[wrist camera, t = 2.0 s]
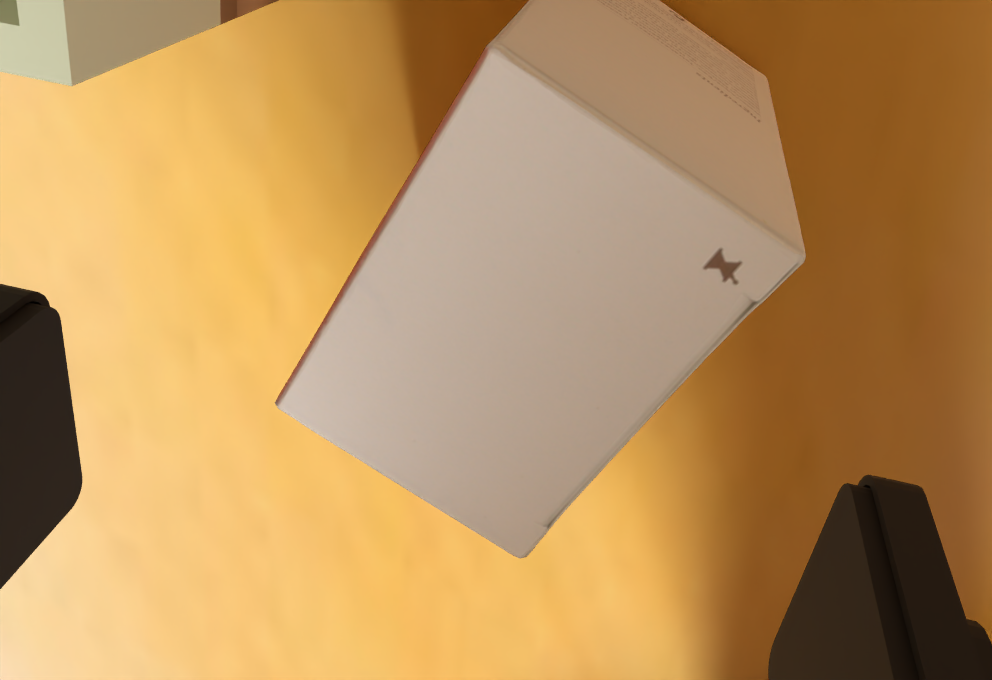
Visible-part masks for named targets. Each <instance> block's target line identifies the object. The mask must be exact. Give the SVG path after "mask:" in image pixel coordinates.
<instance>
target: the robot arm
mask: <svg viewBox="0 0 992 680" xmlns="http://www.w3.org/2000/svg"><path fill="white" fill-rule="evenodd" d="M81 487H82V472H81V464H80V457H79V450H78V442H77V435H76V428H75V421H74V413H73V406H72V399H71V391H70V384H69V377H68V370H67V362H66V355H65V348H64V341H63V333H62V326H61V320H60V316H59V313H58V312H57V311H56V310H55V309H54V308H52V307H50V305H49V302H48V300H47V299H46V297H45V296H44V295H42V294H41V293H39V292H35V291H30V290H26V289H21V288H17V287H12V286H8V285H3V284H0V589H1V588H2V587H3V586H4V584H5V583H6V582H7V581H8V580H9V579H10V578H11V577H12V575H13V574H14V573H15V572H16V571H17V570H18V569H19V567H20V566H21V565H22V564H23V563H24V562H25V561H26V560H27V558H28V557H29V556H30V555H31V554H32V553H33V552H34V551H35V549H36V548H37V547H38V546H39V545H40V544H41V543H42V541H43V540H44V539H45V538H46V537H47V536H48V535H49V534H50V532H51V531H52V530H53V529H54V528H55V527H56V526H57V524H58V523H59V522H60V521H61V520H62V519H63V518H64V517H65V515H66V514H67V513H68V512H69V511H70V510H71V509H72V507H73V506H74V504H75V503H76V501H77V499H78V497H79V494H80V491H81ZM768 678H769V680H992V644H991V642H990V639H989V637H988V635H987V633H986V631H985V629H984V628H983V627H982V626H981V625H980V624H978V623H977V622H976V621H972V620H968V619H966V617H965V614H964V611H963V608H962V605H961V602H960V599H959V596H958V593H957V589H956V586H955V583H954V580H953V577H952V574H951V571H950V568H949V565H948V562H947V559H946V556H945V553H944V550H943V547H942V544H941V541H940V538H939V535H938V532H937V528H936V525H935V522H934V519H933V516H932V513H931V510H930V507H929V504H928V501H927V498H926V495H925V493H924V491H923V489H922V488H921V487H919V486H918V485H913V484H909V483H904V482H900V481H895V480H891V479H886V478H881V477H877V476H872V475H866V476H864V477H863V478H862V479H861V480H860V482H859V484H858V486H857V485H853V484H848V483H846V484H844V485H843V486H842V487H841V489H840V491H839V492H838V495H837V497H836V499H835V502H834V504H833V506H832V508H831V511H830V513H829V515H828V518H827V520H826V522H825V525H824V527H823V529H822V532H821V534H820V536H819V538H818V541H817V543H816V545H815V548H814V550H813V552H812V555H811V557H810V559H809V562H808V564H807V566H806V568H805V571H804V573H803V575H802V578H801V580H800V582H799V585H798V587H797V589H796V592H795V594H794V596H793V599H792V601H791V603H790V605H789V608H788V610H787V612H786V615H785V617H784V619H783V622H782V624H781V626H780V629H779V631H778V633H777V635H776V638H775V640H774V643H773V645H772V649H771V653H770V659H769V668H768Z"/></svg>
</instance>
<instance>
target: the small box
mask: <svg viewBox="0 0 992 680" xmlns="http://www.w3.org/2000/svg"><path fill="white" fill-rule="evenodd" d="M805 258H806V254H805V247H804V243H803V239H802V235H801V229H800V224H799V220H798V215H797V210H796V206H795V201H794V197H793V193H792V188H791V183H790V179H789V176H788V170H787V167H786V162H785V157H784V153H783V149H782V143H781V140H780V135H779V130H778V125H777V121H776V116H775V111H774V108H773V103H772V98H771V94H770V88H769V83H768V79H767V77H766V76H765V75H763V74H762V73H760V72H759V71H757V70H756V69H754V68H753V67H751V66H750V65H748V64H747V63H746V62H744V61H743V60H742V59H740V58H739V57H737V56H736V55H735V54H733V53H732V52H731V51H729V50H728V49H726V48H725V47H724V46H722V45H721V44H719V43H718V42H717V41H715V40H714V39H712V38H711V37H710V36H708V35H707V34H705V33H704V32H703V31H701V30H700V29H698V28H697V27H696V26H694V25H693V24H691V23H690V22H689V21H687V20H686V19H685V18H683V17H682V16H680V15H679V14H678V13H676V12H675V11H674V10H672V9H671V8H669V7H668V6H667V5H665V4H664V3H662V2H661V1H660V0H529V1H528V2H527V3H526V4H525V5H524V6H523V7H522V9H521V10H520V11H519V12H518V13H517V14H516V15H515V16H514V18H513V19H512V20H511V21H510V22H509V23H508V24H507V25H506V26H505V27H504V28H503V29H502V30H501V31H500V33H499V34H498V35H497V36H496V37H495V38H494V39H493V40H492V41H491V42H490V43H489V44H488V45H487V46H486V47H485V49H484V51H483V53H482V54H481V56H480V58H479V59H478V61H477V63H476V64H475V66H474V68H473V69H472V71H471V73H470V75H469V76H468V78H467V80H466V81H465V83H464V85H463V86H462V88H461V90H460V91H459V93H458V95H457V96H456V98H455V100H454V101H453V103H452V105H451V106H450V108H449V110H448V111H447V113H446V115H445V116H444V118H443V120H442V121H441V123H440V125H439V126H438V128H437V130H436V131H435V133H434V135H433V137H432V138H431V140H430V142H429V143H428V145H427V147H426V148H425V150H424V152H423V153H422V155H421V157H420V158H419V160H418V162H417V163H416V165H415V167H414V168H413V170H412V172H411V173H410V175H409V177H408V178H407V180H406V182H405V183H404V185H403V186H402V188H401V190H400V191H399V193H398V195H397V196H396V198H395V200H394V201H393V203H392V205H391V206H390V208H389V209H388V211H387V213H386V214H385V216H384V218H383V219H382V221H381V223H380V224H379V226H378V228H377V229H376V231H375V233H374V234H373V236H372V238H371V239H370V241H369V243H368V244H367V246H366V248H365V249H364V251H363V253H362V255H361V256H360V258H359V260H358V261H357V263H356V265H355V266H354V268H353V270H352V272H351V273H350V275H349V277H348V279H347V280H346V282H345V284H344V286H343V287H342V289H341V291H340V292H339V294H338V296H337V298H336V299H335V301H334V303H333V305H332V306H331V308H330V310H329V311H328V313H327V315H326V317H325V318H324V320H323V322H322V323H321V325H320V327H319V328H318V330H317V332H316V334H315V335H314V337H313V339H312V340H311V342H310V344H309V345H308V347H307V349H306V351H305V352H304V354H303V356H302V357H301V359H300V361H299V363H298V364H297V366H296V368H295V369H294V371H293V373H292V374H291V376H290V378H289V379H288V381H287V383H286V384H285V386H284V388H283V389H282V391H281V393H280V394H279V396H278V398H277V400H276V402H275V404H276V405H277V407H278V409H280V410H281V411H283V412H285V413H286V414H288V415H289V416H291V417H293V418H294V419H296V420H297V421H299V422H300V423H302V424H303V425H305V426H306V427H308V428H309V429H311V430H312V431H314V432H315V433H317V434H318V435H320V436H322V437H323V438H325V439H326V440H328V441H330V442H331V443H333V444H334V445H336V446H338V447H339V448H341V449H342V450H344V451H346V452H347V453H349V454H351V455H352V456H354V457H356V458H357V459H359V460H360V461H362V462H364V463H365V464H367V465H368V466H370V467H372V468H373V469H375V470H376V471H378V472H380V473H381V474H383V475H384V476H386V477H388V478H389V479H391V480H392V481H394V482H396V483H397V484H399V485H400V486H402V487H404V488H405V489H407V490H409V491H410V492H412V493H413V494H415V495H417V496H418V497H420V498H421V499H423V500H425V501H426V502H428V503H429V504H431V505H433V506H434V507H436V508H438V509H439V510H441V511H442V512H444V513H446V514H447V515H449V516H450V517H452V518H454V519H455V520H457V521H459V522H460V523H462V524H463V525H465V526H467V527H468V528H470V529H471V530H473V531H475V532H476V533H478V534H480V535H481V536H483V537H484V538H486V539H488V540H489V541H491V542H492V543H494V544H496V545H497V546H499V547H500V548H502V549H504V550H505V551H507V552H508V553H510V554H512V555H513V556H515V557H518V558H524V557H527V556H528V555H529V554H530V552H531V551H532V550H533V549H534V548H535V546H536V545H537V544H538V542H539V541H540V540H541V539H542V538H543V537H544V535H545V534H546V533H547V532H548V530H549V529H550V528H551V527H552V525H553V524H554V523H555V522H556V521H557V519H558V518H559V517H560V516H561V515H562V514H563V513H564V511H565V510H566V509H567V508H568V507H569V506H570V505H571V503H572V502H573V501H574V500H575V499H576V498H577V497H578V496H579V495H580V493H581V492H582V491H583V490H584V489H585V488H586V487H587V486H588V485H589V484H590V483H591V481H592V480H593V479H594V478H595V477H596V476H597V475H598V474H599V473H600V472H601V471H602V470H603V468H604V467H605V466H606V465H607V464H608V463H609V462H610V461H611V460H612V459H613V458H614V456H615V455H616V454H617V453H618V452H619V451H620V450H621V449H622V448H623V447H624V446H625V445H626V444H627V442H628V441H629V440H630V439H631V438H632V437H633V436H634V435H635V434H636V433H637V432H638V431H639V429H640V428H641V427H642V426H643V425H644V424H645V423H646V422H647V421H648V420H649V419H650V418H651V417H652V415H653V414H654V413H655V412H656V411H657V410H658V409H659V408H660V407H661V406H662V405H663V404H664V403H665V402H666V401H667V399H668V398H669V397H670V396H671V395H672V394H673V393H674V392H675V391H676V390H677V389H678V388H679V387H680V386H681V385H682V384H683V383H684V381H685V380H686V379H687V378H688V377H689V376H690V375H691V374H692V373H693V372H694V371H695V370H696V369H697V368H698V367H699V366H700V364H701V363H702V362H703V361H704V360H705V359H706V358H707V357H708V356H709V355H710V354H711V353H712V352H713V351H714V350H715V349H716V348H717V347H718V346H719V345H720V344H721V343H722V342H723V341H724V340H725V339H726V338H727V337H728V336H729V335H730V333H731V332H732V331H733V330H734V329H735V328H736V327H737V326H738V325H739V324H740V323H741V322H742V321H743V320H744V319H745V318H746V317H747V316H748V315H749V314H750V313H751V312H752V311H753V310H754V309H756V308H757V307H758V306H759V305H760V304H761V303H763V302H764V301H765V300H766V299H767V298H768V297H769V296H770V295H771V294H772V293H773V292H774V291H775V290H776V289H777V288H778V287H779V286H780V285H781V284H782V283H783V282H784V281H785V280H786V279H787V278H788V277H789V276H790V275H791V274H792V273H794V272H795V271H796V270H797V269H798V268H799V267H800V266H801V265H802V264H803V263H804V261H805Z"/></svg>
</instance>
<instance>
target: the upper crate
mask: <svg viewBox="0 0 992 680" xmlns="http://www.w3.org/2000/svg"><path fill="white" fill-rule="evenodd" d="M220 24H221V17H220V0H0V72H4V73H9V74H14V75H19V76H24V77H29V78H34V79H39V80H44V81H49V82H54V83H59V84H64V85H69V86H73V85H76V84H78V83H81V82H83V81H85V80H88V79H90V78H93V77H95V76H97V75H100V74H102V73H105V72H107V71H110V70H112V69H114V68H117V67H119V66H122V65H124V64H126V63H129V62H131V61H134V60H136V59H138V58H141V57H143V56H146V55H148V54H150V53H153V52H155V51H158V50H160V49H162V48H165V47H167V46H170V45H172V44H175V43H177V42H179V41H182V40H184V39H187V38H189V37H191V36H194V35H196V34H199V33H201V32H203V31H206V30H208V29H211V28H213V27H215V26H218V25H220Z"/></svg>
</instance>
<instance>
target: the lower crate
mask: <svg viewBox="0 0 992 680" xmlns="http://www.w3.org/2000/svg"><path fill="white" fill-rule="evenodd" d="M276 1H278V0H220V17H221V24H223V23H225V22H228V21H230V20H232V19H235V18H237V17H240V16H242V15H244V14H247V13H249V12H252V11H254V10H256V9H259V8H261V7H264V6H266V5H268V4H271V3H273V2H276Z"/></svg>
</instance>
